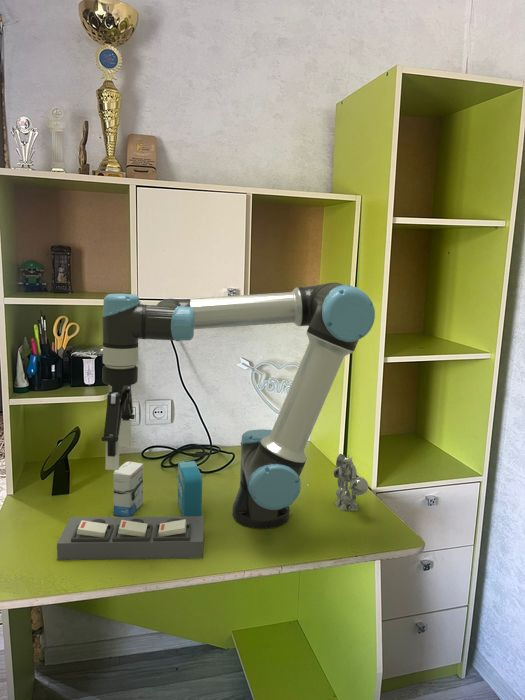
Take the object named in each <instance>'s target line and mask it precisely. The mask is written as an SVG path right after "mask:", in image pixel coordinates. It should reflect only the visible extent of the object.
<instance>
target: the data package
mask: <svg viewBox="0 0 525 700" xmlns="http://www.w3.org/2000/svg"><path fill="white" fill-rule="evenodd" d="M202 476H203V475H202V474H201V472H200V469H199V467H198V465H197V463H196V461H195V460H191V461H189V460H188V461H180V462H178V463H177V503H178V506H179V510H180V511H181V512H180V513H181V515H182V516H203V515H202V512H203V511H202V510H203V507H202V506H203V505H202V504H203V503H202V502H203V477H202Z"/></svg>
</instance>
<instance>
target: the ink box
mask: <svg viewBox="0 0 525 700" xmlns="http://www.w3.org/2000/svg"><path fill="white" fill-rule="evenodd" d="M112 476H113V477H112V478H113V515H114V516H117V517H133V515H134V513H136V512H137V510H138V509H139V508H140V507H141V506H142V505H144V504H143V503H144V463H141V462H135V461H125V462H124V463H123V464H121V466H120V465H119V470H113V474H112Z"/></svg>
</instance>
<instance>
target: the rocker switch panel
mask: <svg viewBox="0 0 525 700" xmlns="http://www.w3.org/2000/svg"><path fill="white" fill-rule="evenodd" d="M184 519H186V524H187V525H186V533H181V534H175V535H169V536H163V537H159V533H158V532H159V527H160V524H161V523H167V522H173V521H178V520H184ZM204 519H205V517H204V515H202V516H181V515H179V516H176V515H175V516H174V515H172V516H170V515H169V516H168V515H167V516H131V517H126V516H90V517H89V516H73V517H70V518H69V519H68V522H67V523H66V525H65V527H64V529H63V531H62V533H61V535H60V537H59V539H58V541H57V543H56V552H57V553H56V556H57V557H56V558H57V561H79V560H80V561H81V560H82V561H83V560H84V561H85V560H87V561H88V560H89V561H90V560H95V561H96V560H145V559H147V560H149V559H150V560H152V559H156V560H157V559H158V560H159V559H202V558H203V557H204V555H203V554H204V531H205V530H204V529H205V527H204V526H205V525H204V524H205V523H204V521H205V520H204ZM82 520H84V521H91V522H97V523H104V524H108V527H107V531H106V534H105V536H104V537H103V538H102V537H95V536H88V535H81V534H77V529H78V527H79V525H80V523H81V521H82ZM121 520H126V521H133V522H139V523H146V524H147V529H146V533H145V537H139V536H132V535H126V534H119V533H118V530H119V526H120V523H121Z"/></svg>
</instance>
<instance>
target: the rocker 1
mask: <svg viewBox="0 0 525 700" xmlns="http://www.w3.org/2000/svg"><path fill="white" fill-rule="evenodd" d="M107 527H108V524H104V523H97V522H91V521H84V520H82V521H81V523H80V525H79V527H78V529H77V534H81V535H88V536H95V537H102V538H103V537H104V536H105V534H106V531H107Z"/></svg>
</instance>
